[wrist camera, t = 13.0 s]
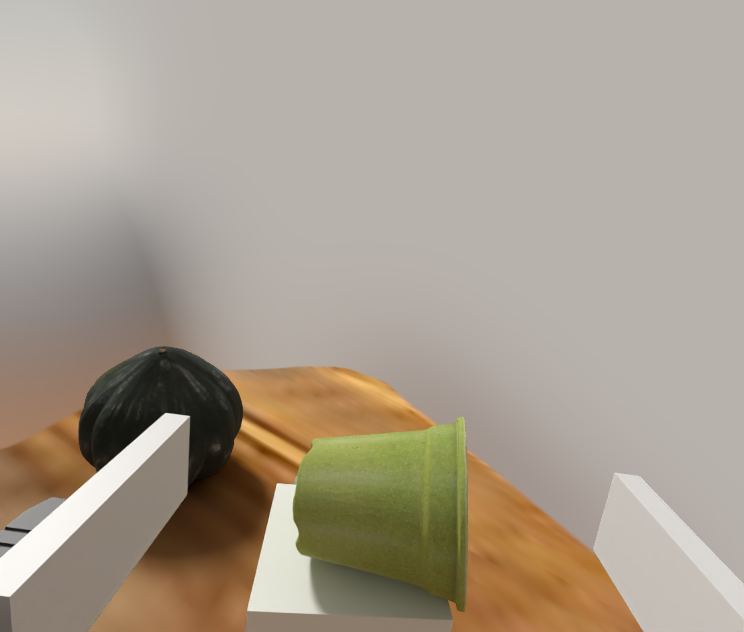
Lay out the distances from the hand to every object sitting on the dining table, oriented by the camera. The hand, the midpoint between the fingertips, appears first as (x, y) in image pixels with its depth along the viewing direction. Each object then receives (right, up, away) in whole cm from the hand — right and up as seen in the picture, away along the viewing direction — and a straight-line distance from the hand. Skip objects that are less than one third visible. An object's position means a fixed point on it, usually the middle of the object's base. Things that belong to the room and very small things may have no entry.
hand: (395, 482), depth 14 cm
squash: (-22, -11, +33) cm, 41 cm away
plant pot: (-5, -5, +11) cm, 13 cm away
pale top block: (-3, -13, +14) cm, 19 cm away
